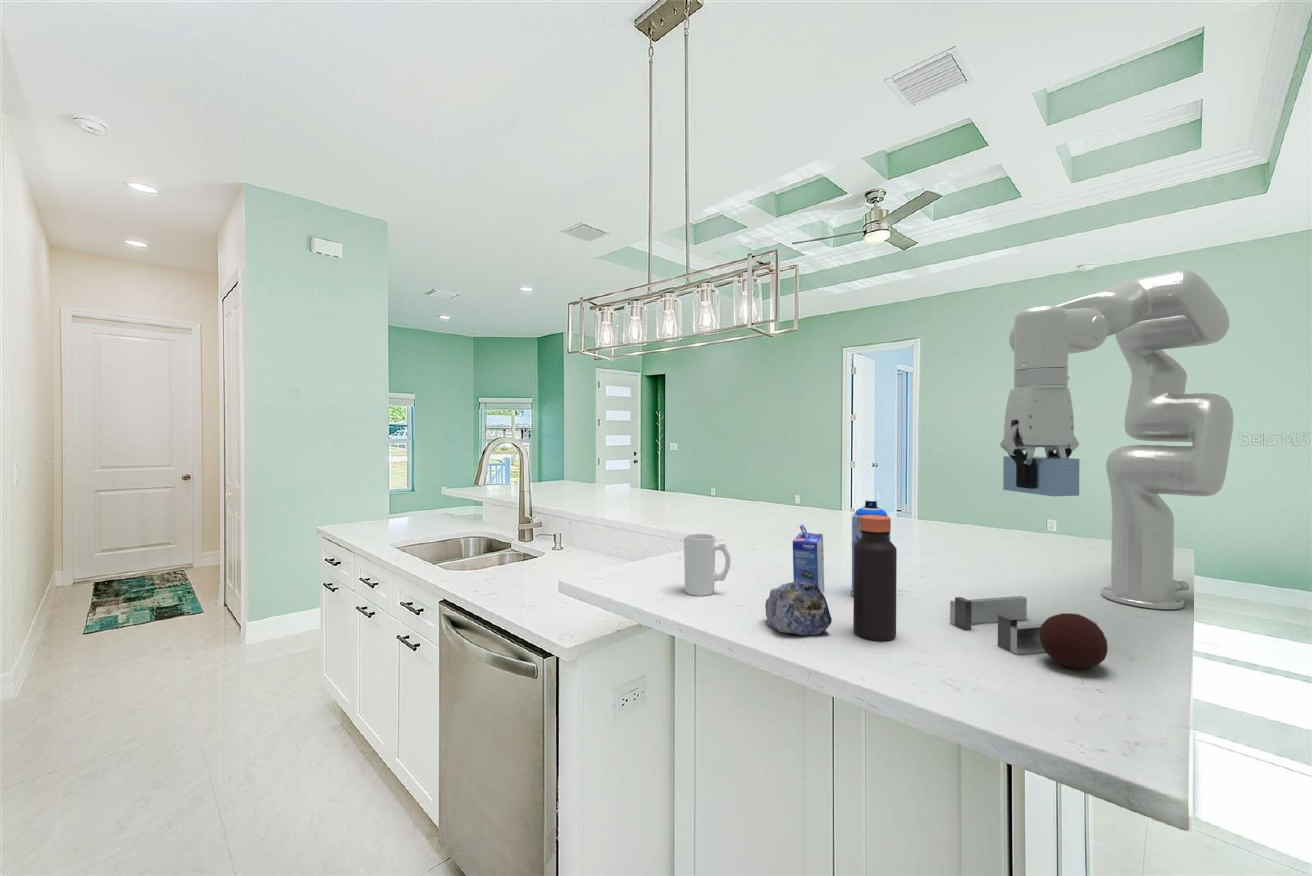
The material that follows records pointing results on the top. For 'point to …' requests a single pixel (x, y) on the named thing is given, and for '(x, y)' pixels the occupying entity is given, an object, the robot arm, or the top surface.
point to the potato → (1073, 641)
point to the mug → (702, 563)
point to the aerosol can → (868, 509)
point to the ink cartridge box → (808, 558)
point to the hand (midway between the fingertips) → (1039, 486)
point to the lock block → (1046, 476)
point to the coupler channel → (1000, 621)
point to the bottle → (875, 580)
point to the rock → (798, 609)
